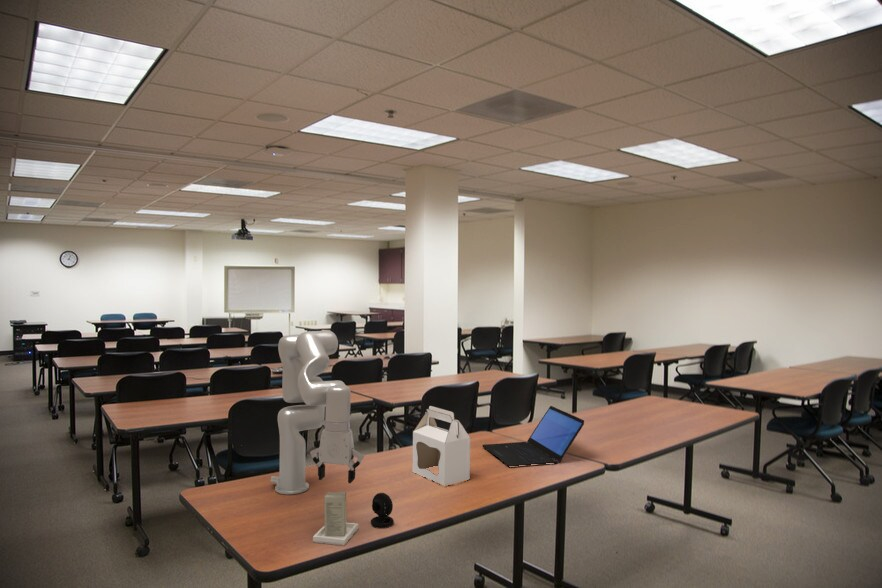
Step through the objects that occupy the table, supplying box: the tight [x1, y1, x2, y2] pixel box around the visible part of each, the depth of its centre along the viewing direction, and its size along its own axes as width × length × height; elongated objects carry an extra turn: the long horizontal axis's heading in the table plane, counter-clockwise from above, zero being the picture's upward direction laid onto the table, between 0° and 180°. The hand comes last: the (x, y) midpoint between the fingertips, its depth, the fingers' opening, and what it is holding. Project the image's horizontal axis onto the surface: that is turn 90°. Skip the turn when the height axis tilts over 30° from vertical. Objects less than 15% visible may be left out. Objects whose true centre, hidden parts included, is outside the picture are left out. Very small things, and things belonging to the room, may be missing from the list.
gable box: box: [412, 405, 471, 486], centre depth 229 cm, size 22×13×28 cm, turn 38°
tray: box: [312, 521, 359, 547], centre depth 172 cm, size 10×12×2 cm
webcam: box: [370, 492, 395, 529], centre depth 182 cm, size 8×8×10 cm
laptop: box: [481, 405, 585, 467], centre depth 262 cm, size 33×38×19 cm
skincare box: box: [323, 491, 347, 536], centre depth 172 cm, size 6×4×12 cm
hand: (336, 480), depth 173 cm, fingers open, 9 cm apart
